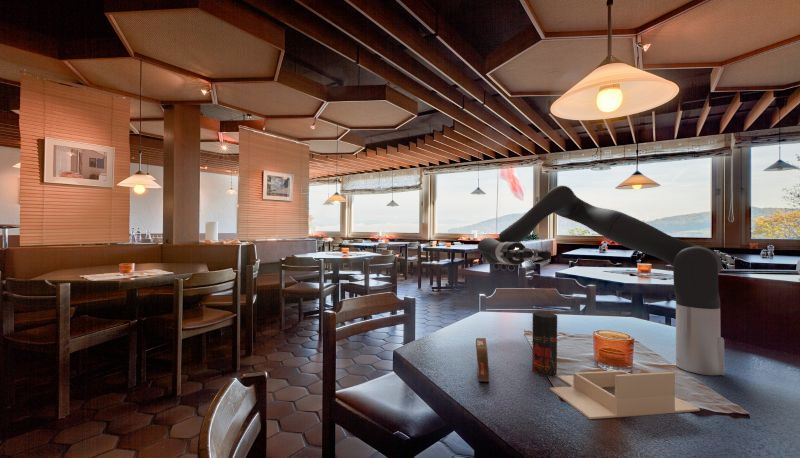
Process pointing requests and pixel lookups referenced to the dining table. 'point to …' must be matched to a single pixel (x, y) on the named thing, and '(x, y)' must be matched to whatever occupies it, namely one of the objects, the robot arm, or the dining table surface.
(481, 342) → the thin brown box
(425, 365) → the dining table surface
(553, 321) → the deodorant
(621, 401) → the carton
